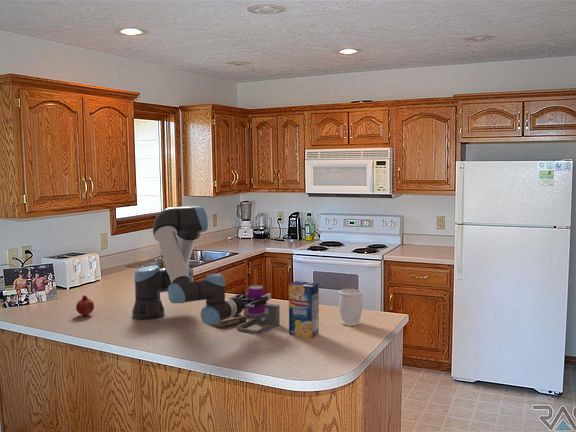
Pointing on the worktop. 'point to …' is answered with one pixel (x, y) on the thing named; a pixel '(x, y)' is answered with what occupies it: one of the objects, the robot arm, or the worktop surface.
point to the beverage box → (304, 309)
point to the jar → (350, 306)
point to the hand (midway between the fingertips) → (262, 294)
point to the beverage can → (253, 293)
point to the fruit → (85, 306)
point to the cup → (247, 313)
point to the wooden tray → (231, 321)
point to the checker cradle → (263, 319)
